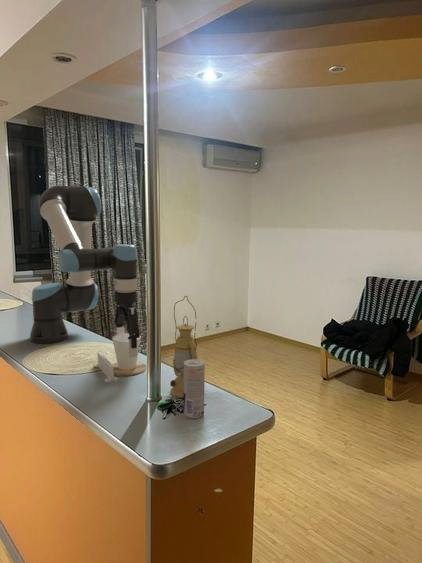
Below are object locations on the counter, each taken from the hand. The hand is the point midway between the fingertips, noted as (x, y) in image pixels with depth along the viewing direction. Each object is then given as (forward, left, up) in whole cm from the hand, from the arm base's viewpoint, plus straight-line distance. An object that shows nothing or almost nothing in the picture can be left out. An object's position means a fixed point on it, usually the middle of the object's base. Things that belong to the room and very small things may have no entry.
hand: (126, 350), depth 142 cm
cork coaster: (0, 0, -7) cm, 7 cm away
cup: (0, 0, -6) cm, 6 cm away
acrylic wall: (0, -8, -7) cm, 10 cm away
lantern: (+26, +10, -7) cm, 29 cm away
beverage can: (+40, +6, -7) cm, 41 cm away
